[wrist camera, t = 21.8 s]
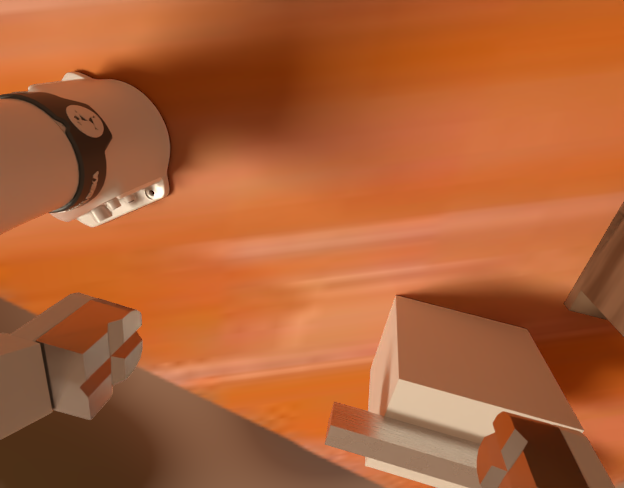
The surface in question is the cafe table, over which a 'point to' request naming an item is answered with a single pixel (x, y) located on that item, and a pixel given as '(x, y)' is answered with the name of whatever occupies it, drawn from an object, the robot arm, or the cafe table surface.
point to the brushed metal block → (403, 445)
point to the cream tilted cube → (459, 377)
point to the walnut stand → (603, 278)
